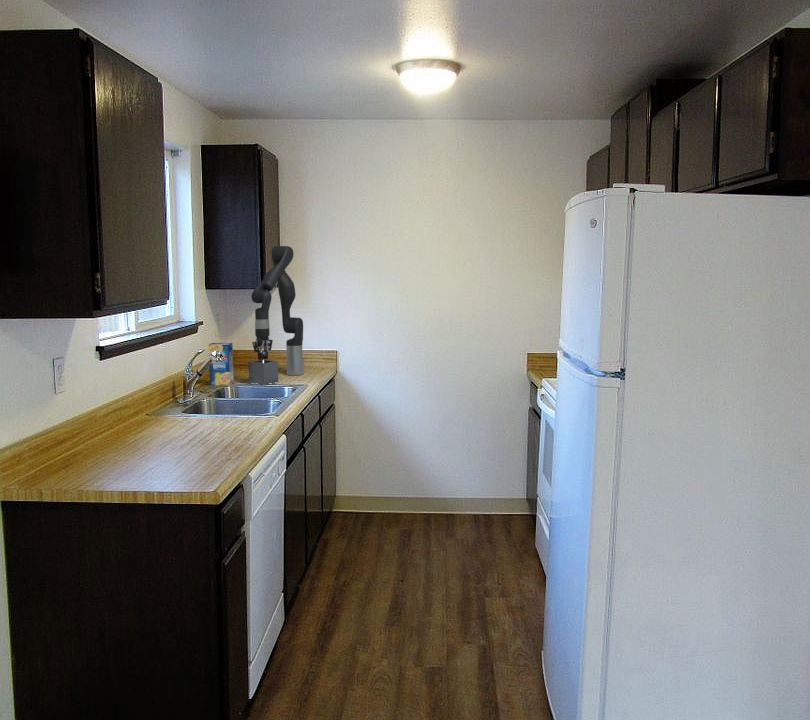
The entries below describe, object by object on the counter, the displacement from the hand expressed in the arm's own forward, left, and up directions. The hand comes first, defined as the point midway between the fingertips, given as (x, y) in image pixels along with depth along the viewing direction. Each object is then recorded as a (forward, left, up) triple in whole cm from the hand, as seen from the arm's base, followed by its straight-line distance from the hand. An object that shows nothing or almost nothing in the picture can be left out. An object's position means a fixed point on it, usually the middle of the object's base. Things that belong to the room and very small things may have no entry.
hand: (263, 359), depth 397 cm
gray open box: (0, 0, -13) cm, 13 cm away
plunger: (0, 0, -12) cm, 12 cm away
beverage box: (+14, -17, -13) cm, 26 cm away
